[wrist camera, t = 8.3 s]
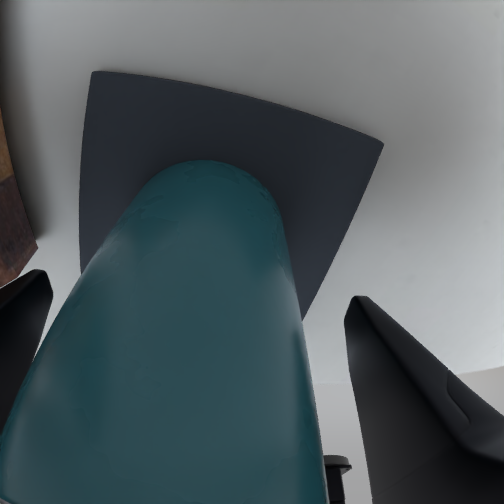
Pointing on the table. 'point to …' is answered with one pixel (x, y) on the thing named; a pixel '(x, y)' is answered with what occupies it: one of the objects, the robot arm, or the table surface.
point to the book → (12, 220)
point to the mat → (222, 150)
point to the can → (174, 361)
